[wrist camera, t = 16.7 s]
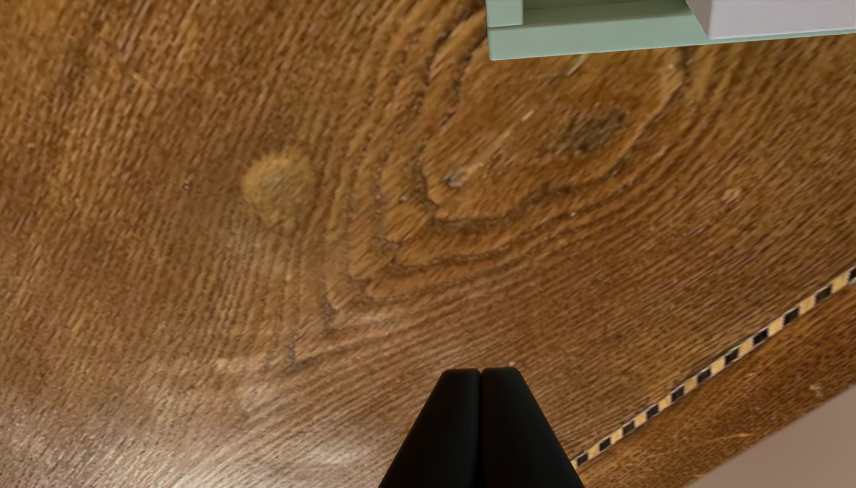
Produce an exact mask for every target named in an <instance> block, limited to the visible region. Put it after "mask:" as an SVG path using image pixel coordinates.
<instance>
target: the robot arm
mask: <svg viewBox="0 0 856 488" xmlns="http://www.w3.org/2000/svg"><path fill="white" fill-rule="evenodd" d="M378 488H585V487H584V485H583V483H582V482H581V480H580V478H579V476H578V474H577V473H576V471H575V469H574V467H573V466H572V464H571V462H570V460H569V458H568V457H567V455H566V453H565V451H564V450H563V448H562V446H561V444H560V442H559V441H558V439H557V437H556V435H555V434H554V432H553V430H552V428H551V426H550V425H549V423H548V421H547V419H546V418H545V416H544V414H543V412H542V410H541V409H540V407H539V405H538V403H537V401H536V400H535V398H534V396H533V394H532V393H531V391H530V389H529V387H528V385H527V384H526V382H525V380H524V378H523V377H522V375H521V373H520V372H519V371H518V369H516V368H514V367H499V368H485V369H484V370H483V371H482V372H481V374H480V372H479V370H477V369H475V368H469V369H448V370H446V371H444V372H443V373H442V375H441V376H440V378H439V380H438V382H437V383H436V385H435V387H434V389H433V390H432V392H431V394H430V396H429V398H428V399H427V401H426V403H425V405H424V406H423V408H422V410H421V412H420V414H419V415H418V417H417V419H416V421H415V422H414V424H413V426H412V428H411V430H410V431H409V433H408V435H407V437H406V438H405V440H404V442H403V444H402V446H401V447H400V449H399V451H398V453H397V454H396V456H395V458H394V460H393V462H392V463H391V465H390V467H389V469H388V470H387V472H386V474H385V476H384V478H383V479H382V481H381V483H380V485H379V486H378Z"/></svg>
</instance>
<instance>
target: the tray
mask: <svg viewBox="0 0 856 488" xmlns="http://www.w3.org/2000/svg"><path fill="white" fill-rule="evenodd" d="M486 15H487V32H488V49H489V58H490V60H505V59H518V58H531V57H545V56H558V55H571V54H585V53H598V52H611V51H624V50H638V49H651V48H664V47H678V46H691V45H704V44H717V43H731V42H744V41H757V40H771V39H784V38H797V37H810V36H824V35H837V34H850V33H856V29H844V30H831V31H818V32H804V33H791V34H778V35H765V36H752V37H738V38H725V39H709V38H708V37H707V36H706V34H705V32H704V31H703V29H702V27H701V26H700V24H699V22H698V21H697V19H696V17H695V16H694V14H693V13H692V11H691V9H690V8H689V6H688V4H687V3H686V1H685V0H486Z"/></svg>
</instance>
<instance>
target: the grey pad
mask: <svg viewBox="0 0 856 488" xmlns="http://www.w3.org/2000/svg"><path fill="white" fill-rule="evenodd" d="M685 1H686V3H687V4H688V6H689V8H690V9H691V11H692V13H693V14H694V16H695V17H696V19H697V21H698V22H699V24H700V26H701V27H702V29H703V31H704V32H705V34H706V36H707V37H708V38H709V39H725V38H738V37H752V36H765V35H778V34H791V33H804V32H818V31H831V30H844V29H856V0H685Z"/></svg>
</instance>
